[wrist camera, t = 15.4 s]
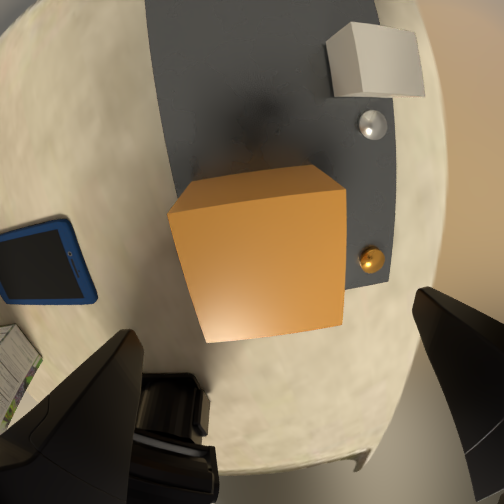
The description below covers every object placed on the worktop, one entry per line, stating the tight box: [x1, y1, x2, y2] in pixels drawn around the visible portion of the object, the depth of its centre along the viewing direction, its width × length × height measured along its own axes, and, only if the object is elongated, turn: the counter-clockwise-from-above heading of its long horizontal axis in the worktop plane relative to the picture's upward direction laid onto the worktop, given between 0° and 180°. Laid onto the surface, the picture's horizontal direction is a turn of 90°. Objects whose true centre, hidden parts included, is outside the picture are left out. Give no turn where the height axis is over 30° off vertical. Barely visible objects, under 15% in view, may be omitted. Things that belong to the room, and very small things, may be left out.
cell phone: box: [0, 219, 98, 305], centre depth 18 cm, size 7×14×1 cm, turn 95°
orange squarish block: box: [167, 165, 347, 343], centre depth 13 cm, size 6×6×5 cm
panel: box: [145, 0, 396, 290], centre depth 13 cm, size 12×20×2 cm, turn 8°
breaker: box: [326, 22, 425, 98], centre depth 9 cm, size 3×3×4 cm
